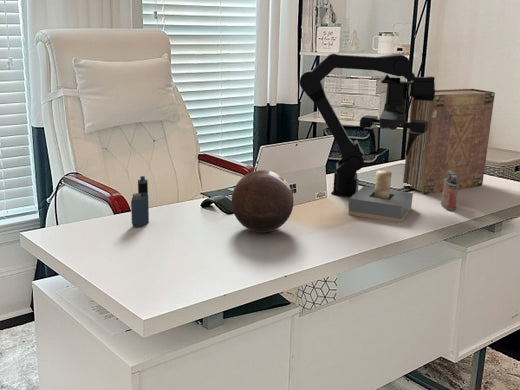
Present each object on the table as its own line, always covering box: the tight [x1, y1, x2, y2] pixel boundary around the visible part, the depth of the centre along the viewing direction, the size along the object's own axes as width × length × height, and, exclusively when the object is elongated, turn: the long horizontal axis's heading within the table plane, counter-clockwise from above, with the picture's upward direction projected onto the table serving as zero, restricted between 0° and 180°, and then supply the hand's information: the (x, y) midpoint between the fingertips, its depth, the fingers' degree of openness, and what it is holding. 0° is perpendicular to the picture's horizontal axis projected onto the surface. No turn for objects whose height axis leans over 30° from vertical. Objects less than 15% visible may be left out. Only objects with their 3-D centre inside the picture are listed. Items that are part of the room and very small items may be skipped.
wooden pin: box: [374, 170, 392, 200], centre depth 167 cm, size 4×4×10 cm
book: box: [402, 88, 496, 195], centre depth 191 cm, size 25×9×30 cm, turn 118°
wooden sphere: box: [230, 169, 295, 233], centre depth 149 cm, size 15×15×15 cm
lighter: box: [440, 171, 459, 212], centre depth 173 cm, size 8×3×10 cm, turn 179°
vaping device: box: [130, 175, 150, 228], centre depth 151 cm, size 3×5×12 cm, turn 155°
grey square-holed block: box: [347, 185, 414, 224], centre depth 168 cm, size 14×14×4 cm
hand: (391, 153), depth 179 cm, fingers open, 9 cm apart
